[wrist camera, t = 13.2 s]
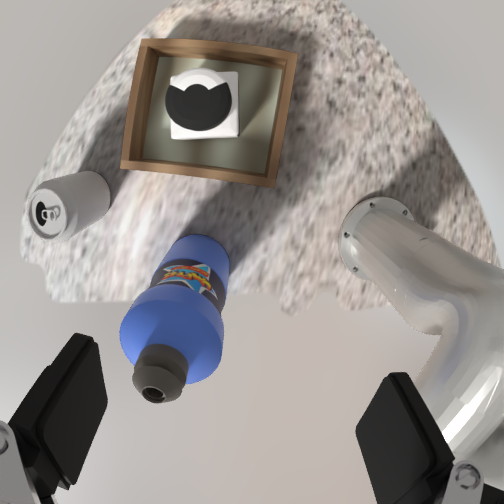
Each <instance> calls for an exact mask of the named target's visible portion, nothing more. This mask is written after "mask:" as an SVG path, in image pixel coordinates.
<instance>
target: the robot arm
mask: <svg viewBox="0 0 504 504" xmlns="http://www.w3.org/2000/svg"><path fill="white" fill-rule="evenodd" d="M370 203H372V204H371V205H370ZM345 232H346V234H345V235H344V233H345ZM338 246H339V253H340V256H341V259H342V261H343V263H344V264H345V266H346V267H347V269H348V270H349V271H350V272H351V273H352V274H354V275H355V276H357V277H358V278H361V279H364V280H368V281H373V283H374V284H375V285H376V286H377V287H378V289H379V290H380V291H381V292H382V293H383V295H384V296H385V297H386V298H387V299H388V301H389V302H390V303H391V304H392V306H393V307H394V308H395V309H396V311H397V312H398V313H399V314H400V315H401V316H402V318H403V319H404V320H405V321H406V322H407V323H408V324H409V325H410V326H411V327H412V328H413V329H415V330H416V331H419V332H421V333H424V334H429V335H441V337H440V339H439V341H438V343H437V345H436V347H435V348H434V350H433V352H432V354H431V356H430V358H429V360H428V361H427V363H426V364H425V366H424V367H423V369H422V371H421V372H420V374H419V375H418V377H417V378H416V380H415V381H414V382H412V380H411V378H410V377H409V375H408V374H407V373H406V372H393V373H390V374H389V375H388V376H387V377H385V378H384V379H383V381H382V383H381V384H380V386H379V388H378V390H377V392H376V394H375V395H374V397H373V399H372V401H371V403H370V404H369V406H368V408H367V410H366V411H365V413H364V415H363V416H362V418H361V419H360V421H359V423H358V424H357V426H356V437H357V440H358V443H359V446H360V449H361V452H362V455H363V458H364V462H365V465H366V468H367V471H368V474H369V478H370V481H371V484H372V487H373V491H374V494H375V497H376V501H377V504H504V269H502V268H499V267H497V266H494V265H492V264H490V263H488V262H486V261H483V260H481V259H480V258H478V257H476V256H474V255H472V254H470V253H469V252H467V251H465V250H463V249H462V248H460V247H458V246H457V245H455V244H453V243H451V242H450V241H448V240H446V239H445V238H443V237H441V236H439V235H438V234H436V233H434V232H432V231H431V230H429V229H427V228H425V227H423V226H422V225H420V224H418V223H416V222H415V220H414V218H413V215H412V214H411V212H410V211H409V209H408V208H407V207H406V206H405V205H404V204H402V203H401V202H399V201H397V200H395V199H393V198H389V197H381V196H378V197H372V198H369V199H367V200H364V201H362V202H361V203H359V204H358V205H356V206H355V207H354V208H353V209H352V210H351V211H350V212H349V214H348V215H347V216H346V218H345V220H344V222H343V224H342V226H341V229H340V233H339V239H338ZM354 267H355V268H354ZM107 400H108V399H107V394H106V389H105V383H104V379H103V373H102V367H101V361H100V354H99V348H98V344H97V343H96V342H94V340H93V338H92V337H90V336H87V335H83V334H80V333H75V334H73V336H72V337H71V338H70V340H69V341H68V342H67V343H66V345H65V346H64V347H63V349H62V350H61V352H60V353H59V354H58V356H57V357H56V358H55V360H54V361H53V363H52V364H51V365H49V366H47V367H46V368H45V369H44V371H43V372H42V373H41V375H40V376H39V378H38V379H37V380H36V382H35V383H34V385H33V386H32V388H31V389H30V391H29V392H28V393H27V395H26V396H25V398H24V399H23V401H22V402H21V404H20V406H19V407H18V408H17V410H16V412H15V413H14V415H13V416H12V418H11V419H10V421H9V423H8V424H6V423H5V422H3V421H0V504H58V503H57V501H56V499H55V496H54V494H55V491H56V488H57V486H59V487H61V488H64V489H66V490H69V488H70V485H71V484H72V485H74V484H76V482H77V479H78V477H79V475H80V472H81V469H82V466H83V464H84V461H85V459H86V456H87V454H88V451H89V449H90V446H91V444H92V441H93V439H94V436H95V434H96V432H97V429H98V427H99V424H100V422H101V420H102V417H103V415H104V412H105V410H106V407H107V403H108V401H107Z"/></svg>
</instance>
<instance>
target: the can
mask: <svg viewBox="0 0 504 504" xmlns="http://www.w3.org/2000/svg"><path fill="white" fill-rule="evenodd" d="M110 199H111V198H110V190H109V187H108V185H107V182H106V181H105V180H104V179H103V177H102V176H100V175H99V174H97V173H96V172H92V171H83V172H78V173H74V174H70V175H66V176H63V177H59V178H55V179H51V180H48V181H44V182H43V183H41V184H40V185H38V187H37V188H36V189H35V191H34V192H33V194H32V195H31V197H30V198H29V201H28V204H27V219H28V223H29V225H30V228H31V230H32V231H33V232H34V234H35V235H36V236H37V237H38V238H40V239H41V240H44V241H47V242H53V243H62V242H63V241H65V240H67V239H69V238H71V237H72V236H74V235H75V234H77V233H78V232H80V231H82V230H83V229H85V228H87V227H88V226H90V225H91V224H93V223H95V222H96V221H98V220H100V219H101V218H102V217H103V216H104V215H105V214H106V212H107V210H108V208H109V205H110Z"/></svg>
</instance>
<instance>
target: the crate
mask: <svg viewBox="0 0 504 504" xmlns="http://www.w3.org/2000/svg"><path fill="white" fill-rule="evenodd" d="M297 57H298V53H293V52H288V51H283V50H278V49H272V48H266V47H260V46H253V45H246V44H239V43H230V42H220V41H209V40H194V39H142V40H141V44H140V48H139V52H138V57H137V61H136V66H135V70H134V75H133V80H132V86H131V91H130V97H129V103H128V109H127V115H126V122H125V129H124V137H123V145H122V154H121V164H120V169H130V170H141V171H151V172H160V173H169V174H178V175H186V176H194V177H202V178H209V179H217V180H224V181H231V182H237V183H244V184H250V185H257V186H263V187H269V188H275V183H276V177H277V172H278V166H279V161H280V155H281V149H282V144H283V138H284V132H285V127H286V121H287V115H288V109H289V104H290V98H291V92H292V86H293V80H294V74H295V69H296V63H297ZM193 68H207V69H211V70H214V71H216V72H233V71H235V72H237V73H238V80H239V119H240V135H239V137H237V138H210V139H192V140H179V139H172V138H171V118H170V117H169V115H168V113H167V110H166V107H165V96H166V92H167V89H168V87H169V85H170V79H171V77H172V76H175V75H179V74H181V73H182V72H184V71H186V70H189V69H193Z"/></svg>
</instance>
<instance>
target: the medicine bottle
mask: <svg viewBox="0 0 504 504" xmlns="http://www.w3.org/2000/svg"><path fill="white" fill-rule="evenodd" d="M165 107H166V110H167V113H168V115H169V117H170V118H171V138H172V139H179V140H192V139H210V138H237V137H239V135H240V119H239V80H238V73H237V72H235V71H233V72H216V71H214V70H211V69H207V68H193V69H189V70H186V71H184V72H182V73H181V74H179V75H175V76H172V77H171V79H170V85H169V87H168V89H167V92H166V96H165Z"/></svg>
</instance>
